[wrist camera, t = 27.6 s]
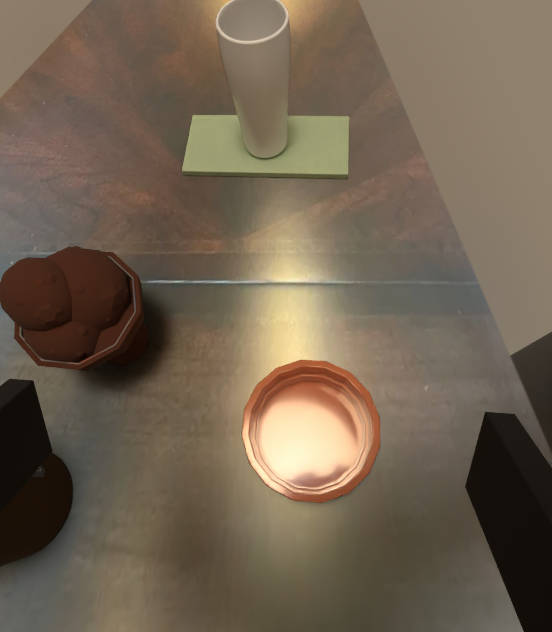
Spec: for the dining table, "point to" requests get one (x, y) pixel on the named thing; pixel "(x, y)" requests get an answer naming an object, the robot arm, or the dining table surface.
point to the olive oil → (35, 512)
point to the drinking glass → (257, 70)
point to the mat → (293, 162)
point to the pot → (311, 431)
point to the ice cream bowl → (76, 309)
